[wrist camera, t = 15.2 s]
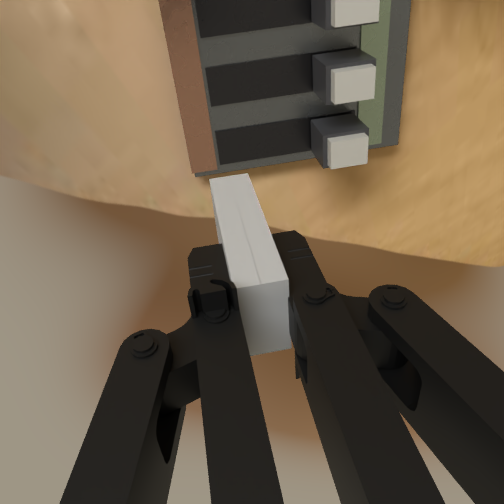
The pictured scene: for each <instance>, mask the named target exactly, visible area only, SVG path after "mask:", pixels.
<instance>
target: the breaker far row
mask: <svg viewBox="0 0 504 504" xmlns="http://www.w3.org/2000/svg"><path fill="white" fill-rule="evenodd" d="M379 5H380V0H311V18H312V23H314V24H316V25H317V26H319V27H321V28H322V29H324V30H333V29H340V28H347V27H354V26H361V25H368V24H375V23H378V22H379Z"/></svg>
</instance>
